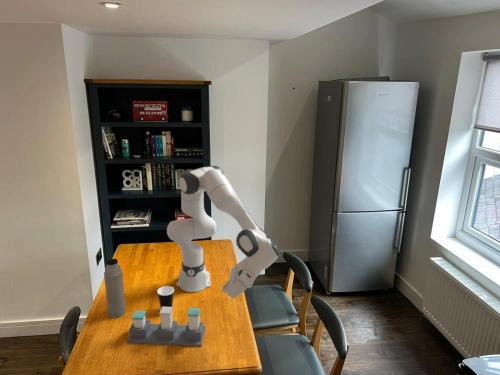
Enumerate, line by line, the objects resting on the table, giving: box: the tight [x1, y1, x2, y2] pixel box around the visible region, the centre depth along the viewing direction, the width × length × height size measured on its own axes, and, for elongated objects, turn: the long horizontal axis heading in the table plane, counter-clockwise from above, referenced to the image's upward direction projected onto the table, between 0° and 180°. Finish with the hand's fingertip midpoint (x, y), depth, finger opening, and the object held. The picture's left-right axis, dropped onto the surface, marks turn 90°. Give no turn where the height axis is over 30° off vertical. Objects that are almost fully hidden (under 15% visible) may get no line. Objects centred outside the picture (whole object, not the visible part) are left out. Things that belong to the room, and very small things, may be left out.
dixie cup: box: [156, 285, 175, 310], centre depth 178 cm, size 8×8×11 cm
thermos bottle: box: [103, 258, 127, 319], centre depth 172 cm, size 8×8×28 cm
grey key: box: [159, 306, 174, 330], centre depth 159 cm, size 5×5×9 cm
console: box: [126, 319, 207, 347], centre depth 161 cm, size 12×32×5 cm, turn 88°
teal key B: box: [187, 307, 201, 331], centre depth 159 cm, size 5×5×9 cm
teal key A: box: [131, 310, 147, 328], centre depth 161 cm, size 5×5×9 cm
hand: (223, 290), depth 154 cm, fingers closed
